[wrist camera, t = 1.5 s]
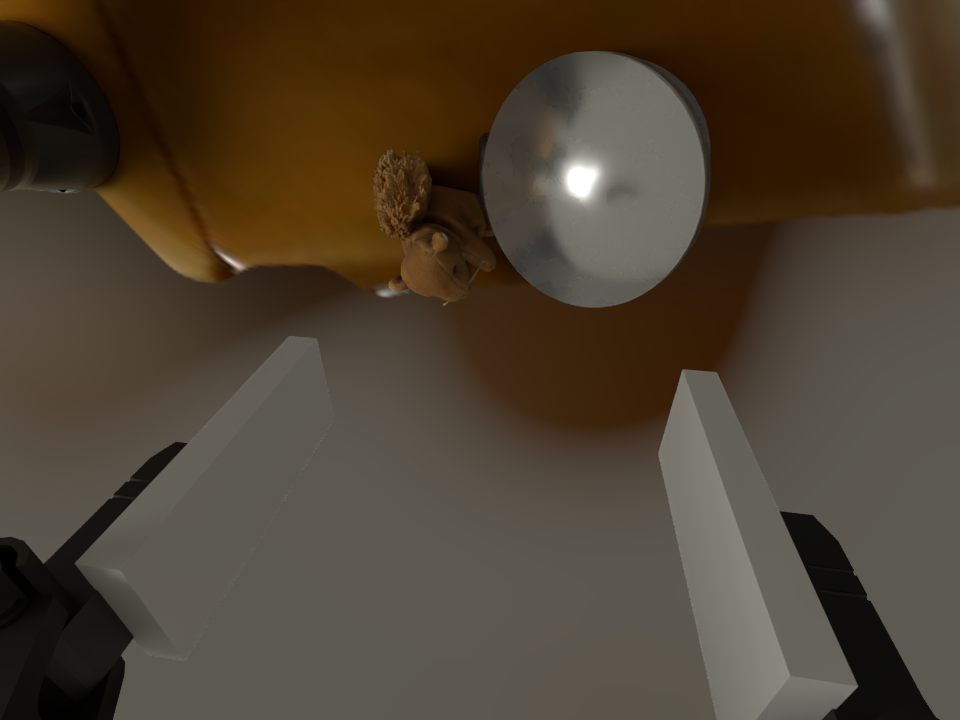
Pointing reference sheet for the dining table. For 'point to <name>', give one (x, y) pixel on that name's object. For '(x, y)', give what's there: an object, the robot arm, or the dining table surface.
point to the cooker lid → (595, 177)
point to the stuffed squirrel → (431, 228)
